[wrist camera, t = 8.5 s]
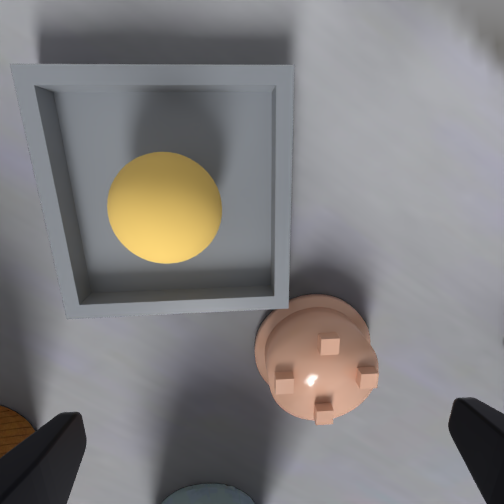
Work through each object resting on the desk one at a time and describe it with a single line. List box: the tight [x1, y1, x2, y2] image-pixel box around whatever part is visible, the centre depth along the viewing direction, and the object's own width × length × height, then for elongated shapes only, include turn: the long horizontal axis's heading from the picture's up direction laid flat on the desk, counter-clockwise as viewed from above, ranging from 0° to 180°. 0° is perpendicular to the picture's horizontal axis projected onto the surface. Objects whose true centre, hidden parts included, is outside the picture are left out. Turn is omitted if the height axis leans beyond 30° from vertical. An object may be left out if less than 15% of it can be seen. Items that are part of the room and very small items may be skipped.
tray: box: [10, 64, 294, 319], centre depth 16 cm, size 12×12×2 cm
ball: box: [107, 152, 222, 264], centre depth 14 cm, size 5×5×5 cm
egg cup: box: [254, 294, 379, 425], centre depth 19 cm, size 8×8×4 cm
